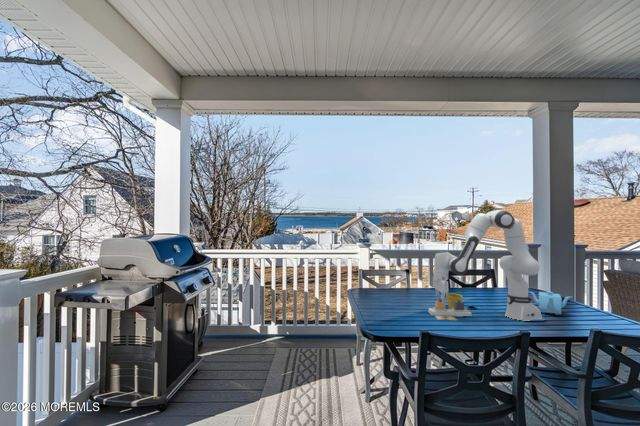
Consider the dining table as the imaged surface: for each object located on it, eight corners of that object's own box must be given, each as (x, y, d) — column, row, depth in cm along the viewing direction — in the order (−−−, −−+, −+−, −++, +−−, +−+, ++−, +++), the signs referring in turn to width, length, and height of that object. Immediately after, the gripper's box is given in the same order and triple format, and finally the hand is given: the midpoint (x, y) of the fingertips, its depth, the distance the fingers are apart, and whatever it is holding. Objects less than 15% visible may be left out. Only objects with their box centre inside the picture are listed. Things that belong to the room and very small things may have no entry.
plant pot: (463, 312, 223) (464, 297, 223) (447, 310, 225) (447, 296, 225) (460, 308, 233) (460, 294, 233) (444, 306, 235) (445, 292, 235)
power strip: (466, 313, 219) (467, 308, 219) (471, 316, 212) (471, 310, 212) (428, 312, 220) (428, 306, 220) (431, 315, 213) (431, 309, 213)
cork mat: (453, 317, 210) (453, 316, 210) (457, 320, 203) (457, 319, 203) (434, 316, 211) (434, 315, 211) (437, 319, 204) (437, 318, 204)
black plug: (461, 310, 218) (462, 298, 218) (464, 311, 214) (464, 300, 214) (454, 310, 218) (454, 298, 218) (456, 311, 214) (456, 299, 215)
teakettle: (527, 306, 243) (527, 286, 243) (570, 312, 230) (570, 291, 231) (528, 314, 222) (528, 292, 222) (575, 321, 209) (575, 298, 209)
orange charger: (443, 309, 218) (443, 298, 218) (445, 311, 215) (445, 299, 215) (435, 309, 219) (435, 297, 219) (437, 310, 215) (437, 299, 215)
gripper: (451, 279, 206) (450, 301, 206) (440, 273, 227) (439, 294, 226) (441, 278, 206) (440, 301, 206) (431, 273, 227) (430, 293, 227)
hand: (439, 297), depth 216 cm, fingers open, 8 cm apart
